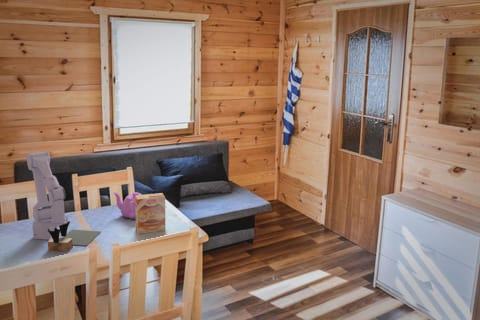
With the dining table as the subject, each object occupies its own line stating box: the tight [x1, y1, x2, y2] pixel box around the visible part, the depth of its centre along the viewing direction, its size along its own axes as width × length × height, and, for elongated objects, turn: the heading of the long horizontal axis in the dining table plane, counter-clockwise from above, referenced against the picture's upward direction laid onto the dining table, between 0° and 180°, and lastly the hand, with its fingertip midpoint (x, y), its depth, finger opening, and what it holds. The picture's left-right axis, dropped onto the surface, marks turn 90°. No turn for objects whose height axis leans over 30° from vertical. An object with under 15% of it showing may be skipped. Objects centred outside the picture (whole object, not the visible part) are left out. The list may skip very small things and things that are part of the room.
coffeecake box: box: [135, 192, 166, 235], centre depth 251 cm, size 15×7×20 cm, turn 112°
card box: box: [47, 237, 74, 253], centre depth 227 cm, size 10×5×5 cm, turn 87°
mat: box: [62, 229, 102, 247], centre depth 241 cm, size 16×18×1 cm
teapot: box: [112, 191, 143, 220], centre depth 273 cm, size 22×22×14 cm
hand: (60, 239), depth 227 cm, fingers open, 7 cm apart
